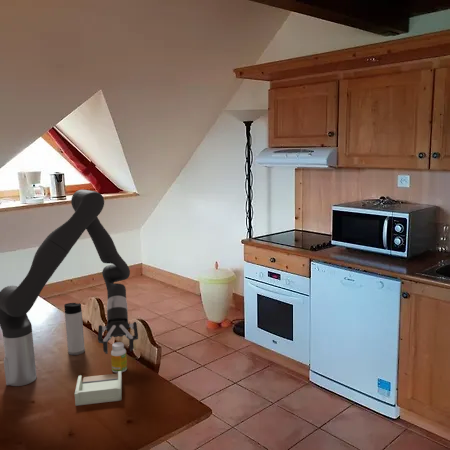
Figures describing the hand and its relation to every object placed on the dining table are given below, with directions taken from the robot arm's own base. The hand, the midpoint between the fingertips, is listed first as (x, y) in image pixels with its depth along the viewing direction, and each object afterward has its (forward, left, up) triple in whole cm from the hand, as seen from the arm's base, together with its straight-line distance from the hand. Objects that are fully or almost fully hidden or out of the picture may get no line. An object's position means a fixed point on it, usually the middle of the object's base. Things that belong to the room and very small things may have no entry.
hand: (118, 351), depth 173 cm
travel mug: (-17, +18, -7) cm, 26 cm away
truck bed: (-6, -14, -6) cm, 16 cm away
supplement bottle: (0, -1, -7) cm, 7 cm away
